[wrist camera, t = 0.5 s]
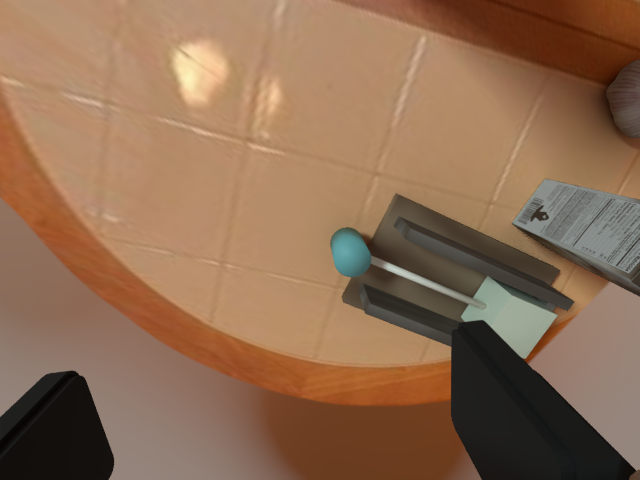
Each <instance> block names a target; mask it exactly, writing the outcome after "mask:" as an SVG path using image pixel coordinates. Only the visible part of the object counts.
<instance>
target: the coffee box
mask: <svg viewBox="0 0 640 480" xmlns="http://www.w3.org/2000/svg"><path fill="white" fill-rule="evenodd" d="M512 224H513V225H514V226H516V227H517V228H518V229H520V230H521V231H523V232H525V233H526V234H528V235H529V236H531V237H532V238H534V239H535V240H537V241H539V242H540V243H542V244H543V245H545V246H546V247H548V248H550V249H551V250H553V251H554V252H556V253H557V254H559V255H561V256H562V257H564V258H565V259H568V260H570V261H572V262H574V263H575V264H577V265H579V266H581V267H583V268H585V269H587V270H589V271H591V272H593V273H595V274H597V275H599V276H601V277H603V278H605V279H607V280H608V281H610V282H612V283H614V284H616V285H618V286H620V287H622V288H624V289H626V290H628V291H630V292H632V293H634V294H636V295H638V296H640V200H638V199H634V198H629V197H625V196H621V195H616V194H612V193H607V192H603V191H598V190H594V189H589V188H585V187H581V186H576V185H571V184H567V183H563V182H559V181H554V180H549V179H545V180H544V181H543V182H542V183H541V185H540V186H539V187H538V189H537V190H536V191H535V193H534V194H533V195H532V197H531V198H530V199H529V201H528V202H527V203H526V205H525V206H524V207H523V209H522V210H521V211H520V213H519V214H518V215H517V217H516V218H515V219H514V221H513V222H512Z"/></svg>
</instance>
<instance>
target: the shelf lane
mask: <svg viewBox="0 0 640 480" xmlns="http://www.w3.org/2000/svg"><path fill="white" fill-rule="evenodd" d="M367 248H368V250H369V252H370V254H371V256H374V257H376V258H378V259H381V260H383V261H386V262H388V263H390V264H393V265H395V266H397V267H400V268H402V269H405V270H407V271H409V272H412V273H414V274H416V275H419V276H421V277H424V278H426V279H428V280H431V281H433V282H435V283H438V284H440V285H442V286H445V287H447V288H450V289H452V290H454V291H457V292H459V293H461V294H464V295H466V296H469V297H471V298H473V297H474V296H475V294H476V293H477V291H478V290H479V288H480V286H481V285H482V283H483V282H484V280H485V279H486V277H487V276H489V277H491V278H494V279H496V280H498V281H501V282H503V283H505V284H507V285H510V286H512V287H514V288H516V289H519V290H521V291H523V292H526V293H528V294H530V295H532V296H533V297H534V298H536V299H537V300H538V301H540V302H541V303H542V304H544V305H545V306H546V307H547V308H549V309H550V310H551V311H553V310H554V309H555V307H556V306H557V307H560V308H562V309H564V310H567V311H568V310H569V309H570V307H571V306H572V305H573V303H574V301H573V300H571V299H570V298H568V297H567V296H565V295H564V294H562V293H560V292H559V291H557V290H556V289H554V288H553V287H551V286H550V284H551V283H552V282H553V280H554V279H555V277H556V276H557V275H558V273H559V272H560V270H559V269H557V268H555V267H554V266H552V265H550V264H548V263H545V262H543V261H541V260H539V259H537V258H535V257H532V256H530V255H528V254H526V253H524V252H522V251H519V250H517V249H515V248H513V247H511V246H509V245H507V244H504V243H502V242H500V241H498V240H496V239H494V238H491V237H489V236H487V235H485V234H483V233H481V232H478V231H476V230H474V229H472V228H470V227H468V226H465V225H463V224H461V223H459V222H457V221H455V220H452V219H450V218H448V217H446V216H444V215H442V214H440V213H437V212H435V211H433V210H431V209H429V208H427V207H424V206H422V205H420V204H418V203H416V202H414V201H411V200H409V199H407V198H405V197H403V196H401V195H398V194H395V196H394V198H393V200H392V202H391V204H390V205H389V207H388V209H387V211H386V213H385V215H384V217H383V219H382V221H381V223H380V224H379V226H378V228H377V230H376V232H375V234H374V236H373V238H372V240H371V242H370V244H369V245H368V247H367ZM342 300H343V303H346V304H349V305H351V306H354V307H356V308H359V309H361V310H364V311H365V314H368V315H371V316H373V317H376V318H378V319H381V320H384V321H386V322H389V323H391V324H394V325H396V326H399V327H402V328H404V329H407V330H409V331H412V332H414V333H417V334H420V335H422V336H425V337H427V338H430V339H433V340H435V341H438V342H440V343H443V344H445V345H448V346H451V347H452V330H453V329H458V325H459V323H460V322H465V321H464V320H463V319H462V318H461V316H462V314H463V313H464V311H465V310H466V308H467V307H468V305H469V304H467V303H464V302H462V301H460V300H457V299H455V298H452V297H450V296H448V295H445V294H443V293H440V292H438V291H436V290H433V289H431V288H428V287H426V286H424V285H421V284H419V283H416V282H414V281H412V280H409V279H407V278H404V277H402V276H400V275H397V274H395V273H392V272H390V271H388V270H385V269H383V268H380V267H378V266H376V265H373V264H370V266H369V268H368V270H367V271H366V272H365V273H363V274H362V275H360V276H357V277H352V278H351V280H350V282H349V284H348V286H347V287H346V289H345V291H344V293H343V295H342Z"/></svg>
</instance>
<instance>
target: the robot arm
mask: <svg viewBox="0 0 640 480" xmlns="http://www.w3.org/2000/svg"><path fill="white" fill-rule="evenodd" d="M451 417H452V421H453V425H454V427H455V430H456V432H457V433H458V435H459V437H460V439H461V441H462V443H463V445H464V447H465V449H466V451H467V452H468V454H469V456H470V458H471V460H472V462H473V464H474V466H475V467H476V469H477V471H478V473H479V475H480V477H481V479H482V480H640V470H637V471H636V470H635V469H634V468H633V467H632V466H631V465H630V464H629V463H628V462H627V461H626V460H625V459H624V458H623V457H622V456H621V455H620V454H619V453H618V452H617V451H616V450H615V449H614V448H613V447H612V446H611V445H610V444H609V443H608V442H607V441H606V440H605V439H604V438H603V437H602V436H601V435H600V434H599V433H598V432H597V431H596V430H595V429H594V428H593V427H592V426H591V425H590V424H589V423H588V422H587V421H586V420H585V419H584V418H583V417H582V416H581V415H580V414H579V413H578V412H577V411H576V410H575V409H574V408H573V407H572V406H571V405H570V404H569V403H568V402H567V401H566V400H565V399H564V398H563V397H562V396H561V395H560V394H559V393H558V392H557V391H556V390H555V389H554V388H553V387H552V386H551V385H550V384H549V383H548V382H547V381H546V380H545V379H544V378H543V377H542V376H541V375H540V374H539V373H537V372H536V371H535V370H533V369H532V368H531V367H530V366H529V365H528V364H527V363H526V362H525V361H524V360H523V359H522V358H521V357H520V356H519V355H518V354H517V353H516V352H515V351H514V350H513V349H512V348H511V347H510V346H509V345H508V344H507V343H506V342H505V341H504V340H503V339H502V338H501V337H500V336H499V335H498V334H497V333H496V332H495V331H494V330H493V329H492V328H491V327H490V326H489V325H488V324H487V323H486V322H485V321H484V320H476V321H468V322H460V323H459V325H458V329H453V330H452V350H451ZM113 467H114V457H113V454H112V451H111V448H110V445H109V443H108V440H107V437H106V434H105V432H104V429H103V426H102V423H101V421H100V418H99V415H98V412H97V410H96V407H95V404H94V401H93V398H92V396H91V393H90V390H89V388H88V385H87V382H86V380H85V378H84V377H83V376H79V374H78V373H77V372H76V371H66V372H57V373H50V374H46V375H45V376H44V377H42V378H41V379H40V380H39V381H38V382H37V383H36V384H35V385H34V386H33V387H32V388H31V389H30V390H29V391H27V392H26V393H25V394H24V395H23V396H22V397H21V398H20V399H19V400H18V401H17V402H16V403H15V404H14V405H13V406H11V408H10V409H9V410H7V411H6V412H5V413H4V414H3V415H2V416H1V417H0V480H109V478H110V476H111V474H112V471H113Z"/></svg>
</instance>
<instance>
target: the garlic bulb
mask: <svg viewBox="0 0 640 480" xmlns="http://www.w3.org/2000/svg"><path fill="white" fill-rule="evenodd" d="M606 96H607V99H608V101H609V105H610V111H611V113H612V115H613V117H614V123H615V125H616V126H617V127H618V128H619V129H620V130H621V132H622V133H623V134H624V135H626V136H628V137H631V138H640V59H639V60H636V61H634V62H632V63H630V64H629V65H627V66H626V67H624V68H623V69H622V70H621V71H620V72H619V74H618V75H617V78H616V79H615V81H614V82H613V83H612V84H610V86H609V87H608V89H607V92H606Z"/></svg>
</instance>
